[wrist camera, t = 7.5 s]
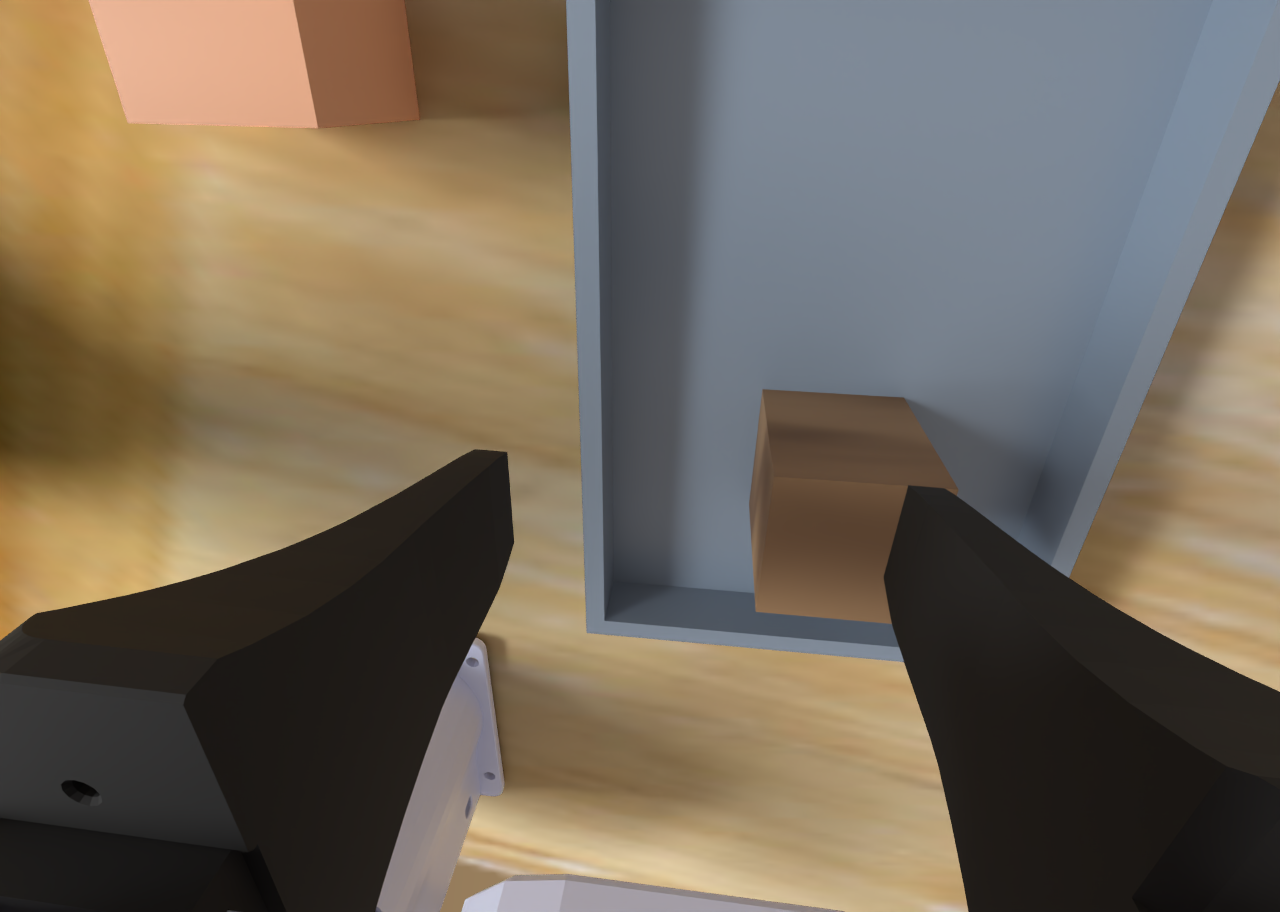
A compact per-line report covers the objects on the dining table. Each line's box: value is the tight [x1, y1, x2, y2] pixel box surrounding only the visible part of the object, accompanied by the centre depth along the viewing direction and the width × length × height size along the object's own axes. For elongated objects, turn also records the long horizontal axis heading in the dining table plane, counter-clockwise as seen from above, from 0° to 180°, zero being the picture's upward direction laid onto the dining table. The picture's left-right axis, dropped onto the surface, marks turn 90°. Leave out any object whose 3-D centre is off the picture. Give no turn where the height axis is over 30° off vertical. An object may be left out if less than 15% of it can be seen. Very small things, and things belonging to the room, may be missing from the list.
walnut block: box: [749, 389, 959, 624], centre depth 18 cm, size 4×4×5 cm
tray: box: [566, 0, 1280, 662], centre depth 17 cm, size 20×14×2 cm
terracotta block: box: [89, 0, 420, 128], centre depth 14 cm, size 4×4×5 cm
